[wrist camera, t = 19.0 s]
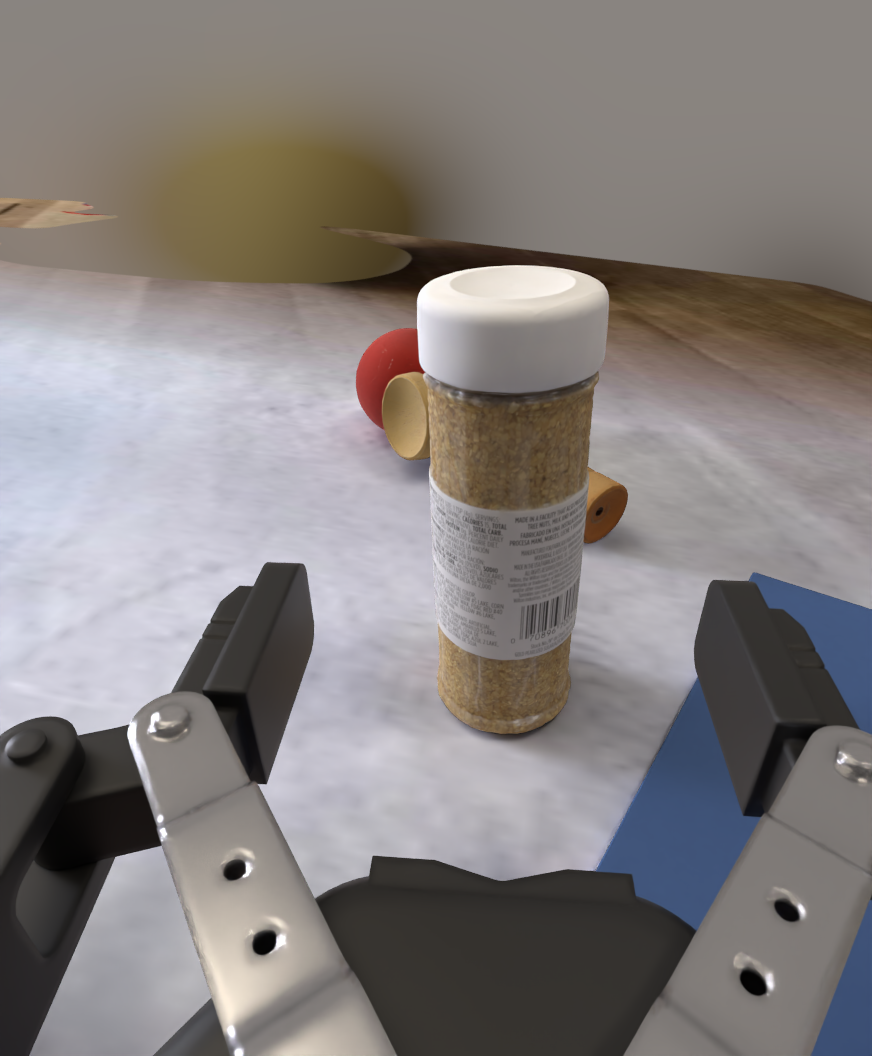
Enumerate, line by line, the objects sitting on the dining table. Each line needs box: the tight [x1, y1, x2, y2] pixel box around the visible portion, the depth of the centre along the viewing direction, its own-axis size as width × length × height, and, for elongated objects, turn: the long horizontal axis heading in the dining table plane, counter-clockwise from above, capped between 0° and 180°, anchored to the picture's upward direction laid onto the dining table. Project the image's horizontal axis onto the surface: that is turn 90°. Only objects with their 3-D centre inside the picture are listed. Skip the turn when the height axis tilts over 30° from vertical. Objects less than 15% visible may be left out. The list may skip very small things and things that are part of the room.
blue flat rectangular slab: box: [596, 572, 872, 1056], centre depth 17 cm, size 24×11×1 cm, turn 145°
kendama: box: [356, 328, 628, 543], centre depth 36 cm, size 8×6×18 cm
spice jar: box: [417, 265, 609, 734], centre depth 20 cm, size 5×5×14 cm
